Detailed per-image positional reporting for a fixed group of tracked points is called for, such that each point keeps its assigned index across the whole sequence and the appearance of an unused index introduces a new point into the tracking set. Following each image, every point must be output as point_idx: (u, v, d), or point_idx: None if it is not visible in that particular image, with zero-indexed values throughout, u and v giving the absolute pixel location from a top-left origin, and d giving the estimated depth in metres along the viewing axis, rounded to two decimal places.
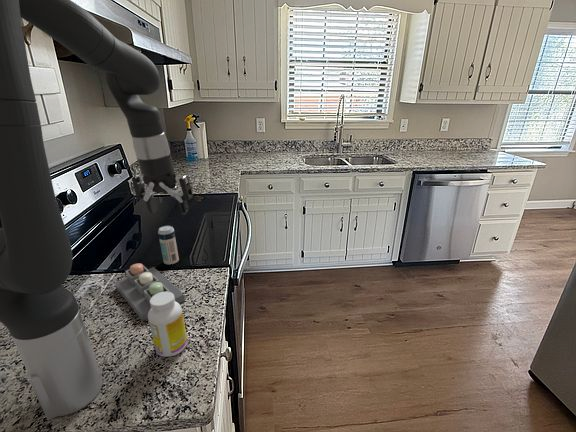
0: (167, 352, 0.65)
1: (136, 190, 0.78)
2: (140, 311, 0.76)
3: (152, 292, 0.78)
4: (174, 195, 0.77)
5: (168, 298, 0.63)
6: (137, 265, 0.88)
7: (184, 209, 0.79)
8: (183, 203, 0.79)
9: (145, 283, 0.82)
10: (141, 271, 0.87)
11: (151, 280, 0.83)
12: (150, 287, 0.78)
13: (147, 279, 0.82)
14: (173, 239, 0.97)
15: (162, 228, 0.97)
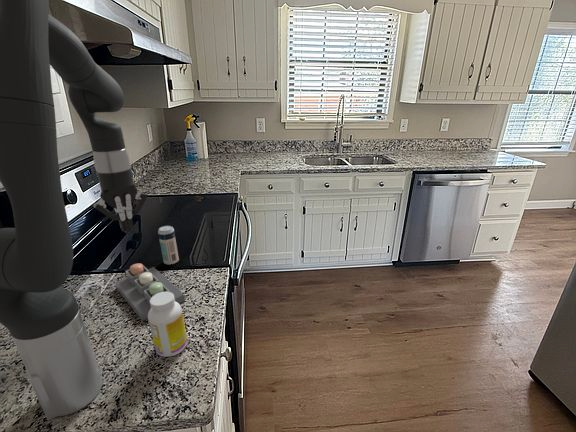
0: (167, 352, 0.65)
1: (108, 214, 0.78)
2: (140, 311, 0.76)
3: (152, 292, 0.78)
4: (129, 210, 0.80)
5: (168, 298, 0.63)
6: (137, 265, 0.88)
7: (132, 225, 0.83)
8: (131, 219, 0.82)
9: (145, 283, 0.82)
10: (141, 271, 0.87)
11: (151, 280, 0.83)
12: (150, 287, 0.78)
13: (147, 279, 0.82)
14: (173, 239, 0.97)
15: (162, 228, 0.97)
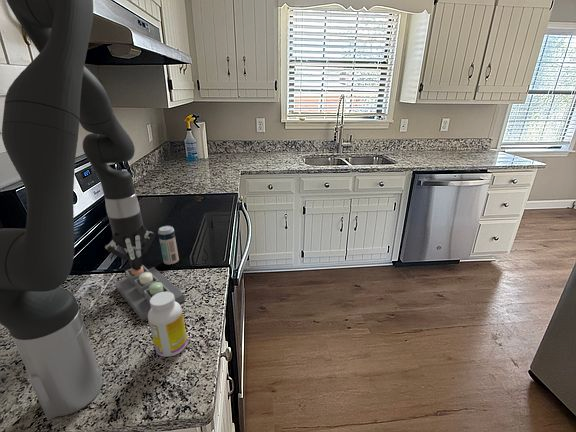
0: (167, 352, 0.65)
1: (119, 255, 0.82)
2: (140, 311, 0.76)
3: (152, 292, 0.78)
4: (138, 249, 0.85)
5: (168, 298, 0.63)
6: None
7: (140, 263, 0.87)
8: (140, 257, 0.87)
9: (145, 283, 0.82)
10: None
11: (151, 280, 0.83)
12: (150, 287, 0.78)
13: (147, 279, 0.82)
14: (173, 239, 0.97)
15: (162, 228, 0.97)
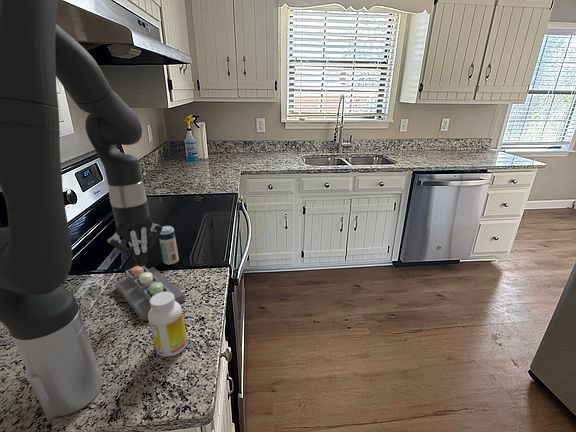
0: (167, 352, 0.65)
1: (123, 249, 0.74)
2: (140, 311, 0.76)
3: (152, 292, 0.78)
4: (144, 243, 0.77)
5: (168, 298, 0.63)
6: (138, 268, 0.88)
7: (146, 259, 0.79)
8: (145, 253, 0.79)
9: (145, 283, 0.82)
10: None
11: (151, 280, 0.83)
12: (150, 287, 0.78)
13: (147, 279, 0.82)
14: (173, 239, 0.97)
15: (162, 228, 0.97)
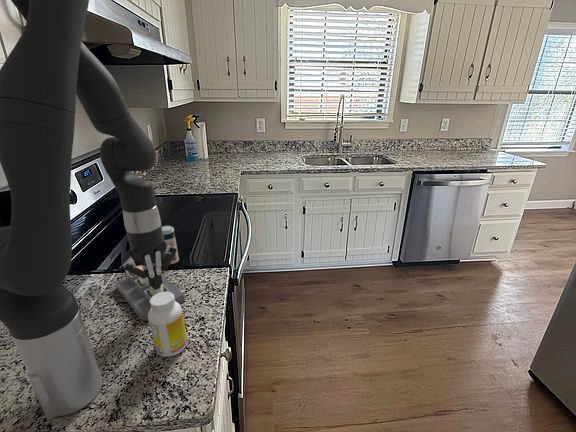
0: (167, 352, 0.65)
1: (138, 273, 0.73)
2: (140, 311, 0.76)
3: (152, 293, 0.78)
4: (158, 266, 0.76)
5: (168, 298, 0.63)
6: None
7: (160, 281, 0.79)
8: (160, 275, 0.78)
9: (145, 283, 0.82)
10: None
11: None
12: (150, 288, 0.78)
13: (147, 279, 0.82)
14: (173, 239, 0.97)
15: (162, 228, 0.97)
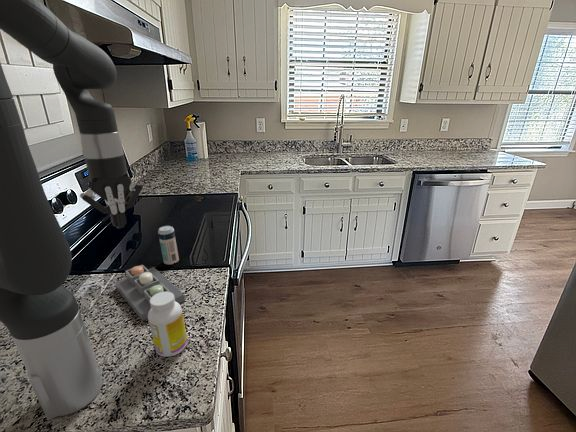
0: (167, 352, 0.65)
1: (98, 206, 0.68)
2: (140, 311, 0.76)
3: (152, 295, 0.78)
4: (121, 202, 0.71)
5: (168, 298, 0.63)
6: (138, 268, 0.88)
7: (124, 220, 0.74)
8: (123, 213, 0.73)
9: (145, 283, 0.82)
10: None
11: (151, 280, 0.83)
12: (151, 290, 0.79)
13: (147, 279, 0.82)
14: (173, 239, 0.97)
15: (162, 228, 0.97)
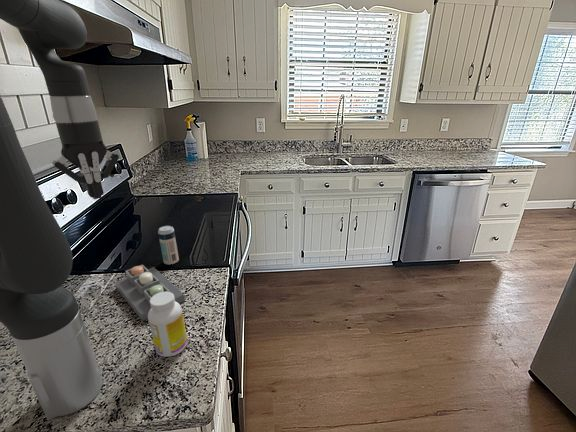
0: (167, 352, 0.65)
1: (71, 175, 0.66)
2: (140, 311, 0.76)
3: (152, 295, 0.78)
4: (97, 171, 0.69)
5: (168, 298, 0.63)
6: (138, 268, 0.88)
7: (101, 190, 0.71)
8: (100, 183, 0.71)
9: (145, 283, 0.82)
10: None
11: (151, 280, 0.83)
12: (151, 290, 0.79)
13: (147, 279, 0.82)
14: (173, 239, 0.97)
15: (162, 228, 0.97)
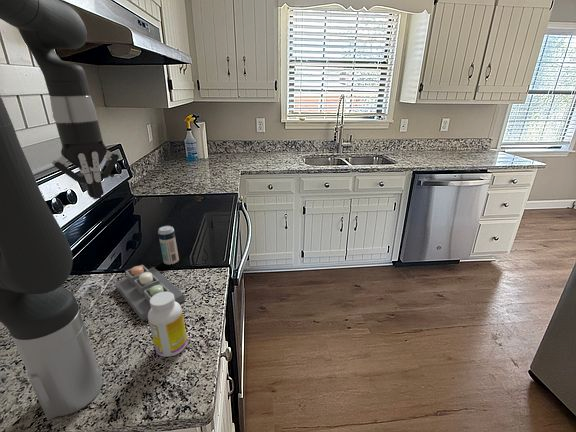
0: (167, 352, 0.65)
1: (71, 175, 0.66)
2: (140, 311, 0.76)
3: (152, 295, 0.78)
4: (97, 171, 0.69)
5: (168, 298, 0.63)
6: (138, 268, 0.88)
7: (101, 190, 0.71)
8: (100, 183, 0.71)
9: (145, 283, 0.82)
10: None
11: (151, 280, 0.83)
12: (151, 290, 0.79)
13: (147, 279, 0.82)
14: (173, 239, 0.97)
15: (162, 228, 0.97)
